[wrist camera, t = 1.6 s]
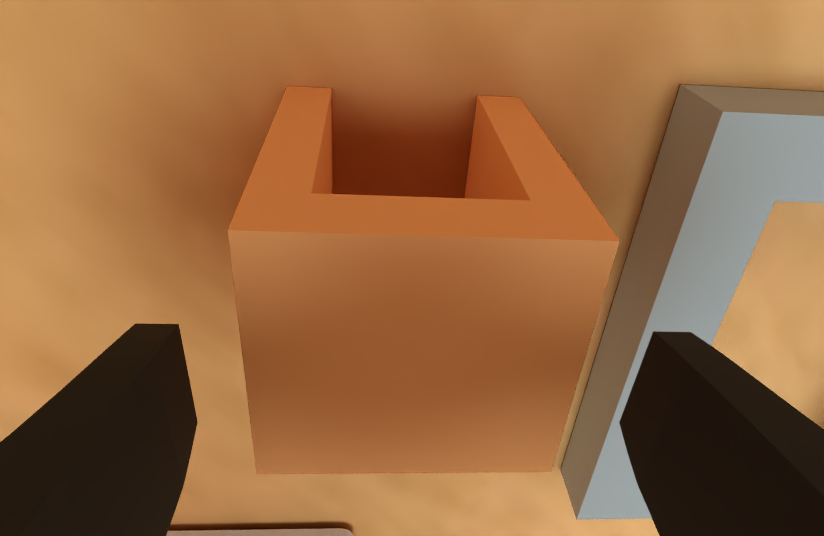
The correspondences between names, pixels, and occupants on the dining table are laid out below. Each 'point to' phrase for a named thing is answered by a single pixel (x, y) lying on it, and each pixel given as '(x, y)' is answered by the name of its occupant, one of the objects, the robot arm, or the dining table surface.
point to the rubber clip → (414, 303)
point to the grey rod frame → (690, 256)
